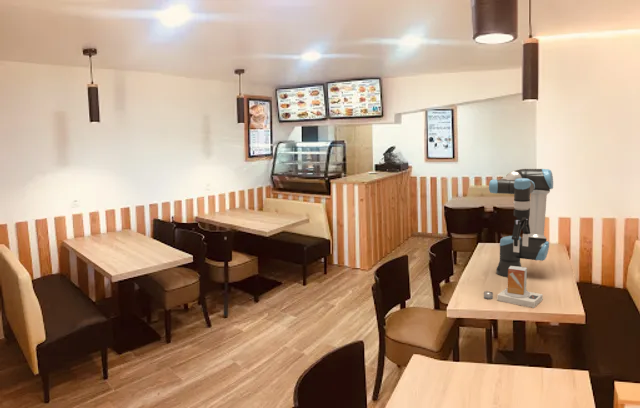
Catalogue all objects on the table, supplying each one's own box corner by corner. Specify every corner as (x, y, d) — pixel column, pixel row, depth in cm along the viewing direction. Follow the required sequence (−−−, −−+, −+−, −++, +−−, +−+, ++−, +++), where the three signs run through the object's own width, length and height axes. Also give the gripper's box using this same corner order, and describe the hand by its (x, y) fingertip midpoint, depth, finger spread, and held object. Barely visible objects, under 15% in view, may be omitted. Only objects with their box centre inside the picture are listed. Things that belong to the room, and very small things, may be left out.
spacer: (485, 296, 243) (485, 290, 242) (494, 297, 240) (494, 292, 239) (482, 298, 240) (482, 292, 239) (490, 300, 237) (491, 294, 236)
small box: (507, 292, 235) (507, 268, 233) (509, 289, 240) (510, 265, 238) (524, 295, 230) (524, 270, 228) (526, 291, 235) (527, 267, 234)
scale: (497, 300, 236) (497, 293, 235) (506, 292, 246) (507, 285, 245) (533, 308, 224) (534, 300, 223) (542, 299, 234) (542, 292, 233)
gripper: (522, 204, 244) (521, 242, 247) (505, 212, 226) (504, 253, 229) (537, 205, 239) (536, 244, 242) (520, 213, 221) (519, 255, 224)
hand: (520, 249), depth 236 cm, fingers open, 13 cm apart
